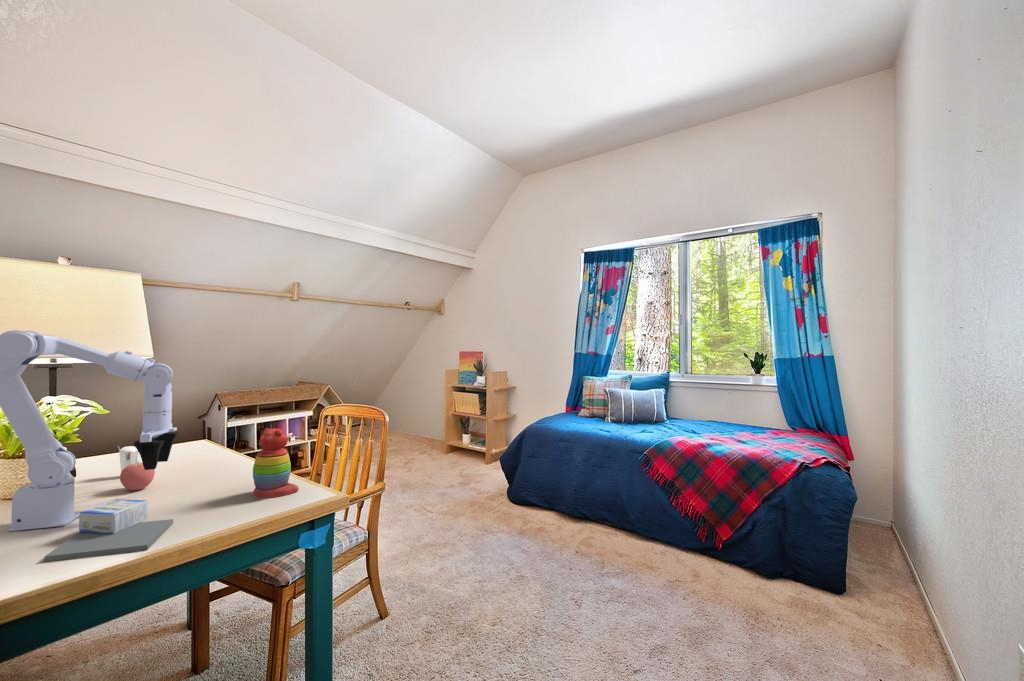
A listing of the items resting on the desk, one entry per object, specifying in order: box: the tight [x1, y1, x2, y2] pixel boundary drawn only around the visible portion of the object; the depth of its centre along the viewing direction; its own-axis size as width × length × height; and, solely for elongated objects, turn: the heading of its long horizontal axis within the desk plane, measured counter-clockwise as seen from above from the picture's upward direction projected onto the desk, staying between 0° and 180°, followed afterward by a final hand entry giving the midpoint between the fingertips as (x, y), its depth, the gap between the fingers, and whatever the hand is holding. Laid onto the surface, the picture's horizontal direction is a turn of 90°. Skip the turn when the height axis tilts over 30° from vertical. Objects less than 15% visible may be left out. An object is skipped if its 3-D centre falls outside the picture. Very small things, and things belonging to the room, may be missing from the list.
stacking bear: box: [252, 427, 300, 499], centre depth 126 cm, size 11×10×18 cm
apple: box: [119, 460, 156, 491], centre depth 127 cm, size 7×7×8 cm
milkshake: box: [117, 445, 139, 473], centre depth 138 cm, size 4×5×10 cm
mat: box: [43, 518, 174, 563], centre depth 94 cm, size 16×14×1 cm
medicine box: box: [78, 498, 149, 534], centre depth 99 cm, size 8×4×9 cm
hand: (156, 465), depth 114 cm, fingers open, 7 cm apart
